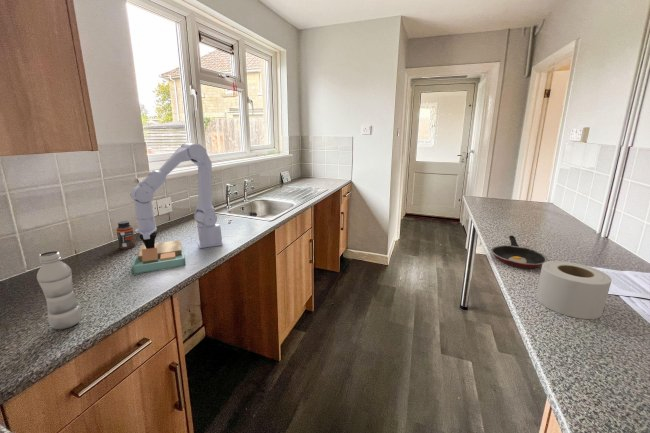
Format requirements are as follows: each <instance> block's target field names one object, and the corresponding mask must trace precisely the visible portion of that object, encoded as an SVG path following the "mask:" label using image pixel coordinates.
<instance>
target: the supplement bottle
mask: <svg viewBox="0 0 650 433" xmlns="http://www.w3.org/2000/svg"><path fill="white" fill-rule="evenodd" d="M116 236H117V241H118V245H119V248H120V249H121V250H124V249H125V250H127V249H131V248H135V246H136V240H135V233H134V228H133V226H132V225H130V221H129V220H122V221H118V222H117V228H116Z"/></svg>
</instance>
